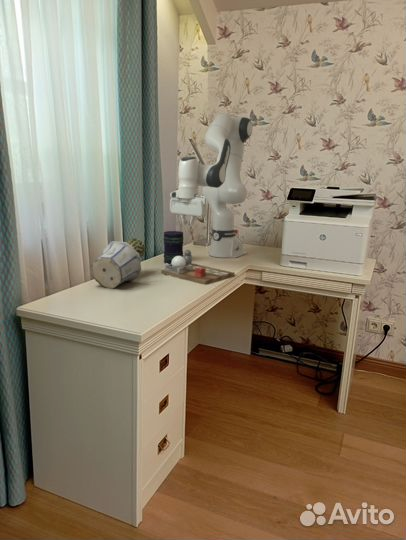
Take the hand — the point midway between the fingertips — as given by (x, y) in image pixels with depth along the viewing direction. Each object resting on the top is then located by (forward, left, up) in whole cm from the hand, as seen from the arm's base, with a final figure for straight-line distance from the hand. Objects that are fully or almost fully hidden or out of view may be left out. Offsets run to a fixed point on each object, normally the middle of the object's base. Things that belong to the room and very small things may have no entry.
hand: (188, 224), depth 195 cm
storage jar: (-6, -16, -21) cm, 27 cm away
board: (+4, +10, -21) cm, 24 cm away
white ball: (+9, +3, -19) cm, 21 cm away
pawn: (0, 0, -19) cm, 19 cm away
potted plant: (+33, -5, -21) cm, 40 cm away
